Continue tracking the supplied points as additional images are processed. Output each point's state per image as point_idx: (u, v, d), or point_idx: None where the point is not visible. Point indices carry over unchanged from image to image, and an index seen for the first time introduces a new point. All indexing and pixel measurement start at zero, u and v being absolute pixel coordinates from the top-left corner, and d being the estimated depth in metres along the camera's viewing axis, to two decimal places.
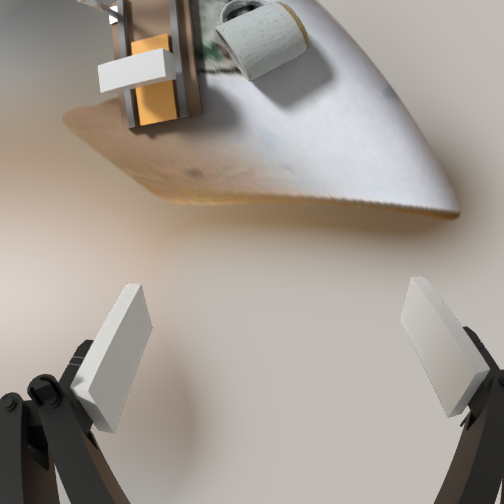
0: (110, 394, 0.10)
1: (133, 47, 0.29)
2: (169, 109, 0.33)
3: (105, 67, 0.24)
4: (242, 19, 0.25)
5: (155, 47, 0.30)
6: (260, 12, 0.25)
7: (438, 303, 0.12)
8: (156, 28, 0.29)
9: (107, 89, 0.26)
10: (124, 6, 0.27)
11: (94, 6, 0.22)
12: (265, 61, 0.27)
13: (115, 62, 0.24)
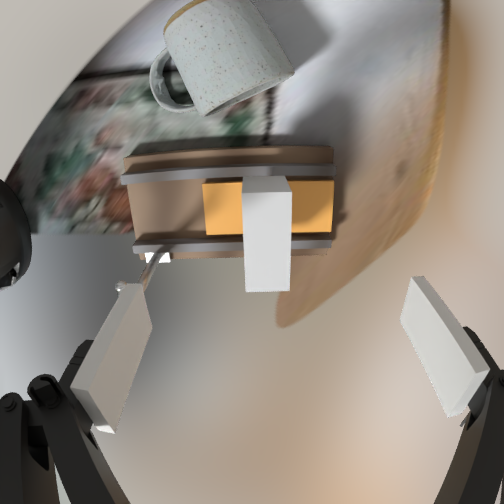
0: (110, 394, 0.10)
1: (214, 231, 0.27)
2: (319, 189, 0.26)
3: (251, 281, 0.21)
4: (193, 75, 0.18)
5: (222, 201, 0.26)
6: (183, 50, 0.17)
7: (438, 303, 0.12)
8: (190, 198, 0.27)
9: (287, 280, 0.21)
10: (148, 242, 0.28)
11: (143, 289, 0.24)
12: (270, 45, 0.17)
13: (248, 266, 0.21)
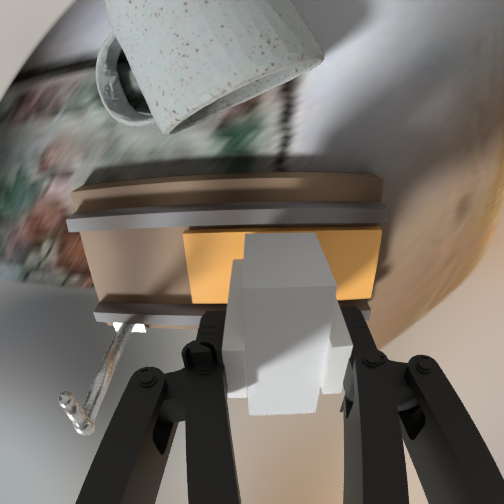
0: None
1: (204, 300, 0.19)
2: (359, 242, 0.17)
3: (258, 404, 0.12)
4: (143, 63, 0.09)
5: (213, 259, 0.17)
6: (127, 21, 0.08)
7: None
8: (167, 252, 0.18)
9: (314, 402, 0.12)
10: (114, 307, 0.19)
11: (105, 387, 0.15)
12: (283, 7, 0.08)
13: (253, 389, 0.12)
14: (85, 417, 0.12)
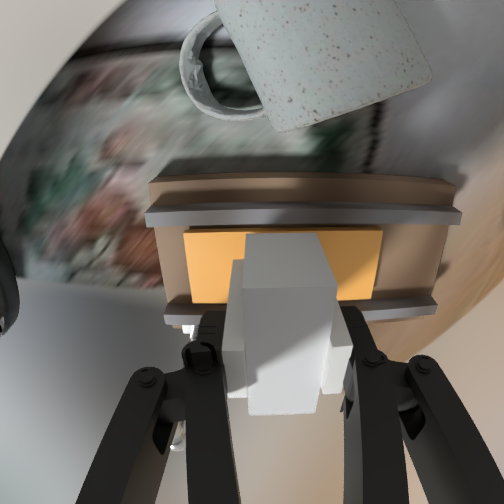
0: None
1: (204, 299, 0.19)
2: (360, 242, 0.17)
3: (258, 404, 0.12)
4: (278, 56, 0.09)
5: (214, 259, 0.17)
6: (259, 9, 0.08)
7: None
8: None
9: (314, 403, 0.12)
10: (187, 309, 0.19)
11: None
12: (408, 28, 0.08)
13: (253, 389, 0.12)
14: (182, 431, 0.12)
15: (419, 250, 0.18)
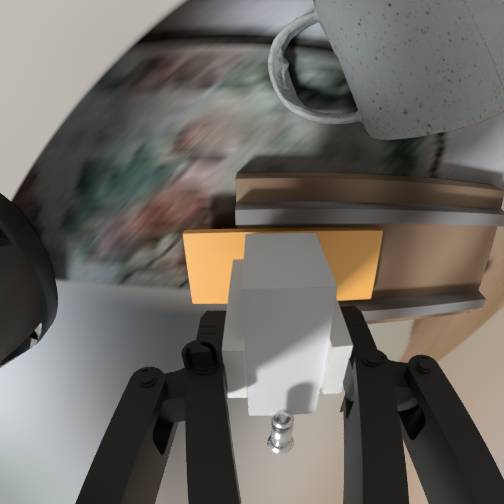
0: None
1: (204, 300, 0.19)
2: (360, 243, 0.17)
3: (258, 405, 0.12)
4: (398, 70, 0.09)
5: (213, 259, 0.17)
6: (381, 22, 0.08)
7: None
8: None
9: (314, 403, 0.12)
10: None
11: None
12: (491, 57, 0.08)
13: (253, 389, 0.12)
14: None
15: (473, 249, 0.18)
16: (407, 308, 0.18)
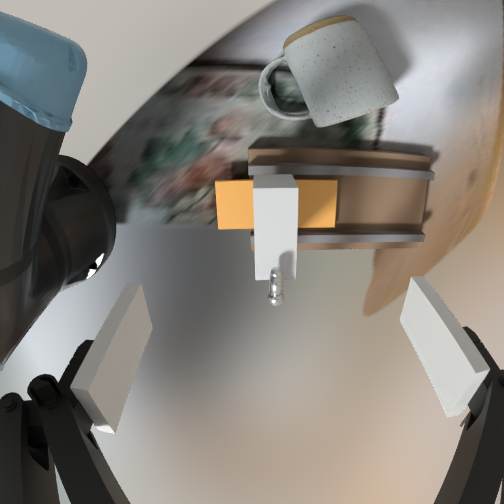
0: (110, 394, 0.10)
1: (226, 226, 0.30)
2: (323, 188, 0.28)
3: (261, 269, 0.23)
4: (323, 89, 0.20)
5: (233, 198, 0.28)
6: (314, 65, 0.19)
7: (438, 303, 0.12)
8: None
9: (294, 269, 0.23)
10: None
11: None
12: (385, 73, 0.19)
13: (258, 255, 0.23)
14: (282, 288, 0.23)
15: (409, 197, 0.29)
16: (362, 235, 0.29)
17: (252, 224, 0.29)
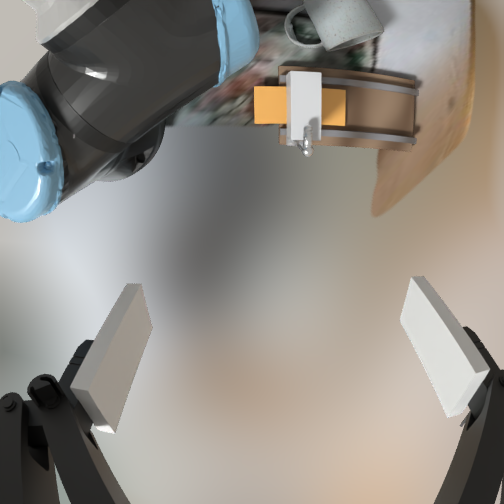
0: (110, 394, 0.10)
1: (261, 121, 0.35)
2: (335, 94, 0.33)
3: (295, 131, 0.29)
4: (331, 21, 0.26)
5: (267, 99, 0.34)
6: (325, 6, 0.25)
7: (438, 303, 0.12)
8: None
9: (319, 132, 0.29)
10: None
11: None
12: (373, 14, 0.25)
13: (293, 119, 0.28)
14: None
15: (401, 109, 0.34)
16: (366, 133, 0.35)
17: (281, 120, 0.35)
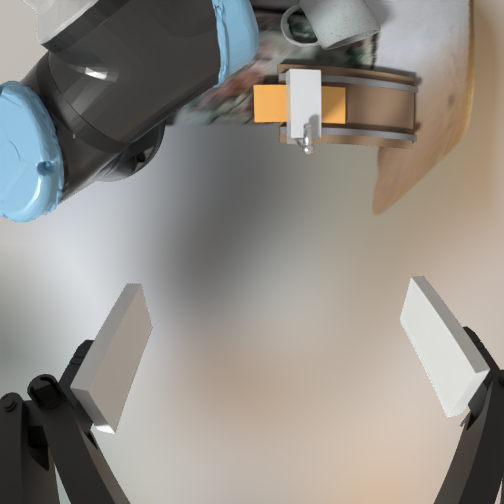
0: (110, 394, 0.10)
1: (261, 119, 0.35)
2: (335, 92, 0.33)
3: (295, 129, 0.29)
4: (327, 20, 0.26)
5: (267, 97, 0.34)
6: (321, 4, 0.25)
7: (438, 303, 0.12)
8: None
9: (319, 130, 0.29)
10: None
11: None
12: (369, 12, 0.25)
13: (293, 117, 0.28)
14: (312, 140, 0.28)
15: (401, 107, 0.34)
16: (366, 130, 0.35)
17: (281, 118, 0.35)
